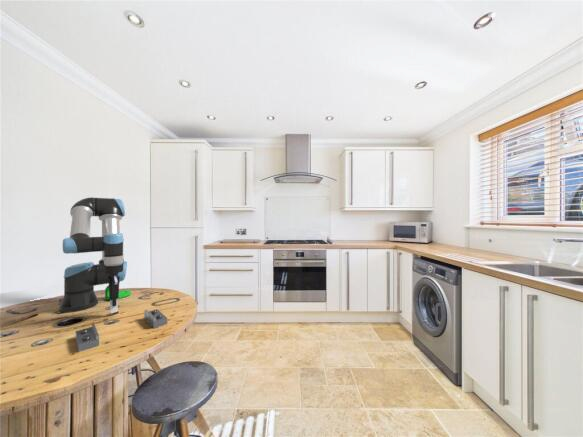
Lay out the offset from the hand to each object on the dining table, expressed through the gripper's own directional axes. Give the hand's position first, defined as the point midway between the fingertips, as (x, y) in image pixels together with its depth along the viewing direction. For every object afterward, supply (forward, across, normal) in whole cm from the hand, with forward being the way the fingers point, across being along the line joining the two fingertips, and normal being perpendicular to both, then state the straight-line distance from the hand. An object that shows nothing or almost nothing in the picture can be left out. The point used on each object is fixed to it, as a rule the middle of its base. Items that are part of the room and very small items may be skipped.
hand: (113, 312), depth 109 cm
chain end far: (+2, +23, +12) cm, 26 cm away
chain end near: (+2, +23, -12) cm, 26 cm away
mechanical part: (+2, -31, +8) cm, 32 cm away
